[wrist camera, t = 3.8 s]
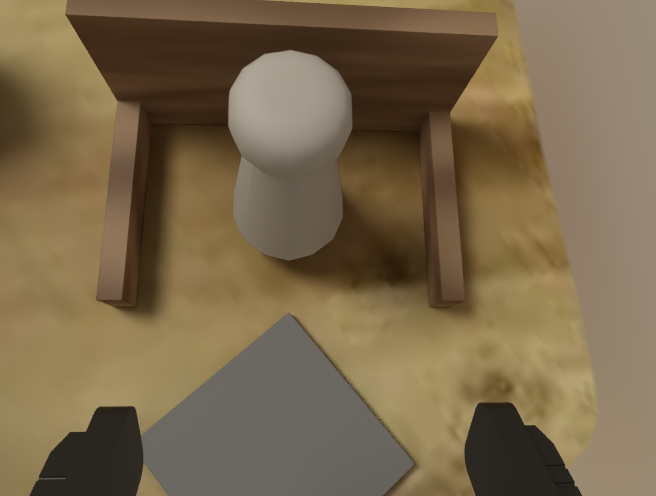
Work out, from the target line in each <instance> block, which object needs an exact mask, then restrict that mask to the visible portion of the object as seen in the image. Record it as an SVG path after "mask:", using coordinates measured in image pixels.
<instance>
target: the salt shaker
mask: <svg viewBox="0 0 656 496" xmlns="http://www.w3.org/2000/svg"><path fill="white" fill-rule="evenodd" d="M228 126H229V129H230V132H231V135H232V137H233V139H234V141H235V143H236V145H237V147H238V149H239V151H240V153H241V155H242V157H241V162H240V166H239V171H238V176H237V180H236V185H235V190H234V207H233V217H234V219H235V221H236V224H237V226H238V228H239V230H240V232H241V234H242V236H243V239H244V240H245V241H247V242H248V243H249V244H251V245H252V246H253V247H255V248H256V249H258V250H259V251H260V252H262V253H263V254H264V255H267V256H271V257H275V258H280V259H284V260H288V261H289V260H293V259H297V258H301V257H305V256H309V255H313V254H314V253H315V252H317V251H318V250H319V249H321V248H322V247H323V246H325V245H326V244H327V243H329V242H330V241H331V240H333V238H334V236H335V234H336V232H337V229H338V227H339V225H340V223H341V220H342V218H343V194H342V188H341V182H340V176H339V170H338V164H337V159H338V158H339V156H340V154H341V152H342V150H343V148H344V146H345V144H346V141H347V139H348V137H349V135H350V133H351V130H352V98H351V92H350V90H349V89H348V87H347V85H346V84H345V82H344V80H343V78H342V77H341V75H340V73H339V72H338V71H337V70H336V69H334V68H333V67H332V66H330V65H329V64H328V63H326V62H325V61H324V60H322V59H321V58H320V57H318V56H316V55H311V54H307V53H302V52H298V51H293V50H288V51H281V52H275V53H268V54H264V55H262V56H261V57H259V58H258V59H256V60H255V61H253V62H252V63H250V64H249V65H247V66H246V67H244V68H243V69H242V71H241V72H240V74H239V76H238V77H237V79H236V81H235V82H234V84H233V86H232V87H231V89H230V93H229V110H228Z"/></svg>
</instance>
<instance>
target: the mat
mask: <svg viewBox="0 0 656 496" xmlns="http://www.w3.org/2000/svg"><path fill="white" fill-rule="evenodd" d="M141 440H142V446H143V456H144V458H143V462H144V463H145V464H146V466H147V467H148V468H149V470H150V471H151V472H152V474H153V475H154V476H155V478H156V479H157V481H158V482H159V483H160V485H161V486H162V487H163V489H164V490H165V491H166V493H167V494H168V495H169V496H383V495H384V494H385V493H386V492H387V491H388V490H389V489H390V488H391V487H392V486H393V485H394V484H395V483H396V482H397V481H398V480H399V479H400V478H401V477H402V476H403V475H404V474H405V473H406V472H407V471H408V470H409V469H410V468H411V467H412V466H413V465H414V464H415V463H414V462H413V461H412V460H411V458H410V457H409V456H408V455H407V454H406V452H405V451H404V450H403V449H402V448H401V446H400V445H399V444H398V443H397V442H396V440H395V439H394V438H393V437H392V436H391V434H390V433H389V432H388V431H387V430H386V428H385V427H384V426H383V425H382V424H381V422H380V421H379V420H378V419H377V418H376V416H375V415H374V414H373V413H372V412H371V410H370V409H369V408H368V407H367V406H366V404H365V403H364V402H363V401H362V400H361V398H360V397H359V396H358V395H357V394H356V392H355V391H354V390H353V389H352V388H351V386H350V385H349V384H348V383H347V382H346V380H345V379H344V378H343V377H342V376H341V374H340V373H339V372H338V371H337V370H336V368H335V367H334V366H333V365H332V364H331V362H330V361H329V360H328V359H327V358H326V356H325V355H324V354H323V353H322V351H321V350H320V349H319V348H318V347H317V345H316V344H315V343H314V342H313V341H312V339H311V338H310V337H309V336H308V335H307V333H306V332H305V331H304V330H303V329H302V327H301V326H300V325H299V324H298V323H297V321H296V320H295V319H294V318H293V317H292V315H291V314H290V313H288V314H287V315H286V316H284V317H283V318H282V319H281V320H280V321H278V322H277V323H276V324H275V325H273V326H272V327H271V328H270V329H269V330H267V331H266V332H265V333H264V334H263V335H261V336H260V337H259V338H258V339H257V340H255V341H254V342H253V343H252V344H251V345H249V346H248V347H247V348H246V349H245V350H243V351H242V352H241V353H240V354H239V355H237V356H236V357H235V358H234V359H233V360H231V361H230V362H229V363H228V364H227V365H225V366H224V367H223V368H222V369H221V370H219V371H218V372H217V373H216V374H215V375H213V376H212V377H211V378H210V379H209V380H207V381H206V382H205V383H204V384H203V385H201V386H200V387H199V388H198V389H197V390H195V391H194V392H193V393H192V394H191V395H189V396H188V397H187V398H186V399H184V400H183V401H182V402H181V403H180V404H178V405H177V406H176V407H175V408H174V409H172V410H171V411H170V412H169V413H168V414H166V415H165V416H164V417H163V418H162V419H160V420H159V421H158V422H157V423H156V424H154V425H153V426H152V427H151V428H150V429H148V430H147V431H146V432H145V433H144V434H142V435H141Z"/></svg>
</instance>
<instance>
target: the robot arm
mask: <svg viewBox="0 0 656 496" xmlns="http://www.w3.org/2000/svg"><path fill="white" fill-rule="evenodd" d="M143 458H144V456H143V446H142V440H141V435H140V430H139V424H138V419H137V413H136V409H135V407H133V406H126V407H98V408H97V409H96V411H95V413H94V415H93V417H92V419H91V421H90V424H89V426H88V428H87V431H86V432H70V433H69V434H68V435H67V436H66V437H65V438H64V439H63V440H62V441H61V442H60V443H59V444H58V445H57V446H56V447H55V448H54V450H53V451H52V452H51V453H50V455H49V457H48V459H47V461H46V463H45V465H44V467H43V469H42V471H41V473H40V475H39V480H38V481H36V483H35V485H34V487H33V490H32V492H31V494H30V496H136V493H137V490H138V486H139V483H140V479H141V475H142V469H143ZM465 464H466V468H467V472H468V475H469V478H470V480H471V483H472V486H473V489H474V492H475V495H476V496H582V495H581V493H580V491H579V489H578V487H577V486H576V487H575V485H574V480H573V478H572V477H571V475H570V473H569V471H568V469H566V468H565V464H564V462H563V460H562V458H561V456H560V455H559V453H558V451H557V449H556V447H555V446H554V444H553V443H552V442H551V441H550V440H549V439H548V438H547V437H546V436H545V435H544V434H543V433H542V432H541V431H540V430H539V429H538V428H537V427H536V426H535V425H524V423H523V421H522V419H521V417H520V415H519V413H518V411H517V409H516V408H515V406H514V405H513V404H512V403H509V402H499V403H479V404H478V405H477V406H476V409H475V413H474V416H473V419H472V423H471V426H470V429H469V433H468V436H467V440H466V443H465Z"/></svg>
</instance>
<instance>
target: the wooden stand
mask: <svg viewBox="0 0 656 496" xmlns="http://www.w3.org/2000/svg"><path fill="white" fill-rule="evenodd" d="M66 16H67V18H68V19H69V21H70V23H71V24H72V26H73V28H74V29H75V31H76V33H77V34H78V36H79V38H80V39H81V41H82V43H83V44H84V46H85V48H86V49H87V51H88V53H89V54H90V56H91V58H92V59H93V61H94V63H95V64H96V66H97V68H98V69H99V71H100V73H101V74H102V76H103V78H104V79H105V81H106V83H107V84H108V86H109V88H110V89H111V91H112V93H113V94H114V96H115V97H116V99H117V109H116V118H115V127H114V137H113V146H112V156H111V165H110V174H109V184H108V193H107V203H106V212H105V221H104V231H103V240H102V250H101V259H100V268H99V278H98V287H97V296H96V300H98V301H101V302H103V303H105V304H108V305H110V306H136V299H137V287H138V276H139V264H140V253H141V241H142V229H143V218H144V206H145V194H146V183H147V171H148V160H149V148H150V136H151V125H152V123H160V124H192V125H223V126H228V110H229V93H230V89H231V87H232V86H233V84H234V82H235V81H236V79H237V77H238V76H239V74H240V72H241V71H242V69H243V68H244V67H246V66H247V65H249V64H250V63H252V62H253V61H255V60H256V59H258V58H259V57H261V56H262V55H264V54H268V53H275V52H281V51H288V50H293V51H298V52H302V53H307V54H311V55H316V56H318V57H320V58H321V59H322V60H324V61H325V62H326V63H328V64H329V65H330V66H332V67H333V68H334V69H336V70H337V71H338V72H339V73H340V75H341V77H342V78H343V80H344V82H345V84H346V85H347V87H348V89H349V90H350V92H351V98H352V130H379V131H410V132H418V134H419V150H420V166H421V182H422V198H423V215H424V231H425V247H426V263H427V279H428V295H429V307H451V306H453V305H455V304H458V303H460V302H463V301H465V293H464V281H463V268H462V256H461V243H460V231H459V219H458V206H457V194H456V181H455V169H454V156H453V144H452V131H451V119H450V112H451V110H452V108H453V107H454V105H455V104H456V102H457V101H458V99H459V97H460V96H461V94H462V93H463V91H464V89H465V88H466V86H467V85H468V83H469V81H470V80H471V78H472V77H473V75H474V74H475V72H476V70H477V69H478V67H479V66H480V64H481V62H482V61H483V59H484V58H485V56H486V55H487V53H488V51H489V50H490V48H491V47H492V45H493V43H494V42H495V40H496V39H497V37H498V29H497V20H496V13H488V12H469V11H451V10H432V9H414V8H395V7H377V6H358V5H340V4H321V3H302V2H284V1H265V0H67V7H66Z"/></svg>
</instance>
